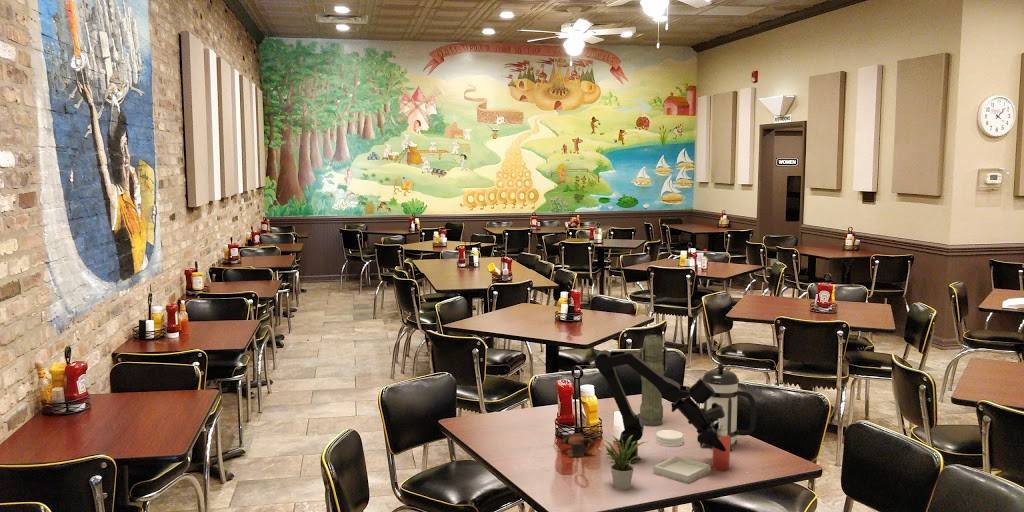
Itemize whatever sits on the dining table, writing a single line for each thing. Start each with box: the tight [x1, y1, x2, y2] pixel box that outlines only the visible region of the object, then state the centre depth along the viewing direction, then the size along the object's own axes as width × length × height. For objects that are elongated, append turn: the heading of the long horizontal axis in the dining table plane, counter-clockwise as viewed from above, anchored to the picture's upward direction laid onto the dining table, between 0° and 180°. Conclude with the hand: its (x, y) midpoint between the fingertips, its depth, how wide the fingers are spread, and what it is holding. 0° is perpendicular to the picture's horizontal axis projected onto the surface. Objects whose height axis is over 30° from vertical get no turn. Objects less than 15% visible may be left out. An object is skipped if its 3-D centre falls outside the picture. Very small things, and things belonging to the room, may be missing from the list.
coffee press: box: [699, 363, 757, 452], centre depth 302 cm, size 17×16×30 cm
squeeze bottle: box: [711, 425, 731, 472], centre depth 280 cm, size 6×6×15 cm
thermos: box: [637, 334, 668, 428], centre depth 329 cm, size 9×12×35 cm
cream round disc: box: [655, 429, 685, 448], centre depth 307 cm, size 10×10×4 cm
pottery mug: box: [561, 432, 595, 458], centre depth 295 cm, size 12×10×8 cm
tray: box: [652, 455, 711, 484], centre depth 276 cm, size 14×13×2 cm
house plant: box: [603, 435, 647, 490], centre depth 264 cm, size 14×14×16 cm
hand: (725, 447), depth 280 cm, fingers closed on squeeze bottle, 6 cm apart
